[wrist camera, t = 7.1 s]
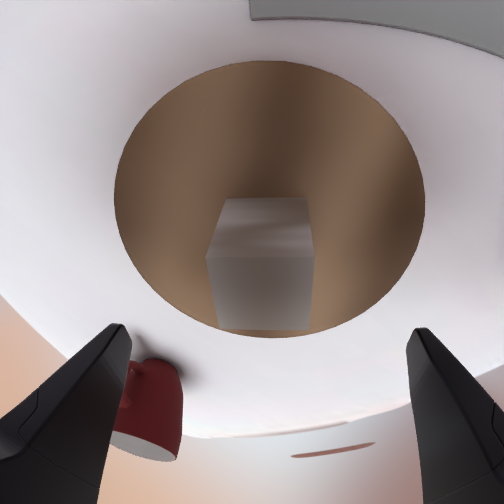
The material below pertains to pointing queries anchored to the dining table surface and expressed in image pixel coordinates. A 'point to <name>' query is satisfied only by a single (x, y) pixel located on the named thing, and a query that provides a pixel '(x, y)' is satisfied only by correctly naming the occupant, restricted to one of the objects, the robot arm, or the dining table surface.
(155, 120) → the lid
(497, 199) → the dining table surface
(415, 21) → the mat
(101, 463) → the robot arm
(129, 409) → the mug
